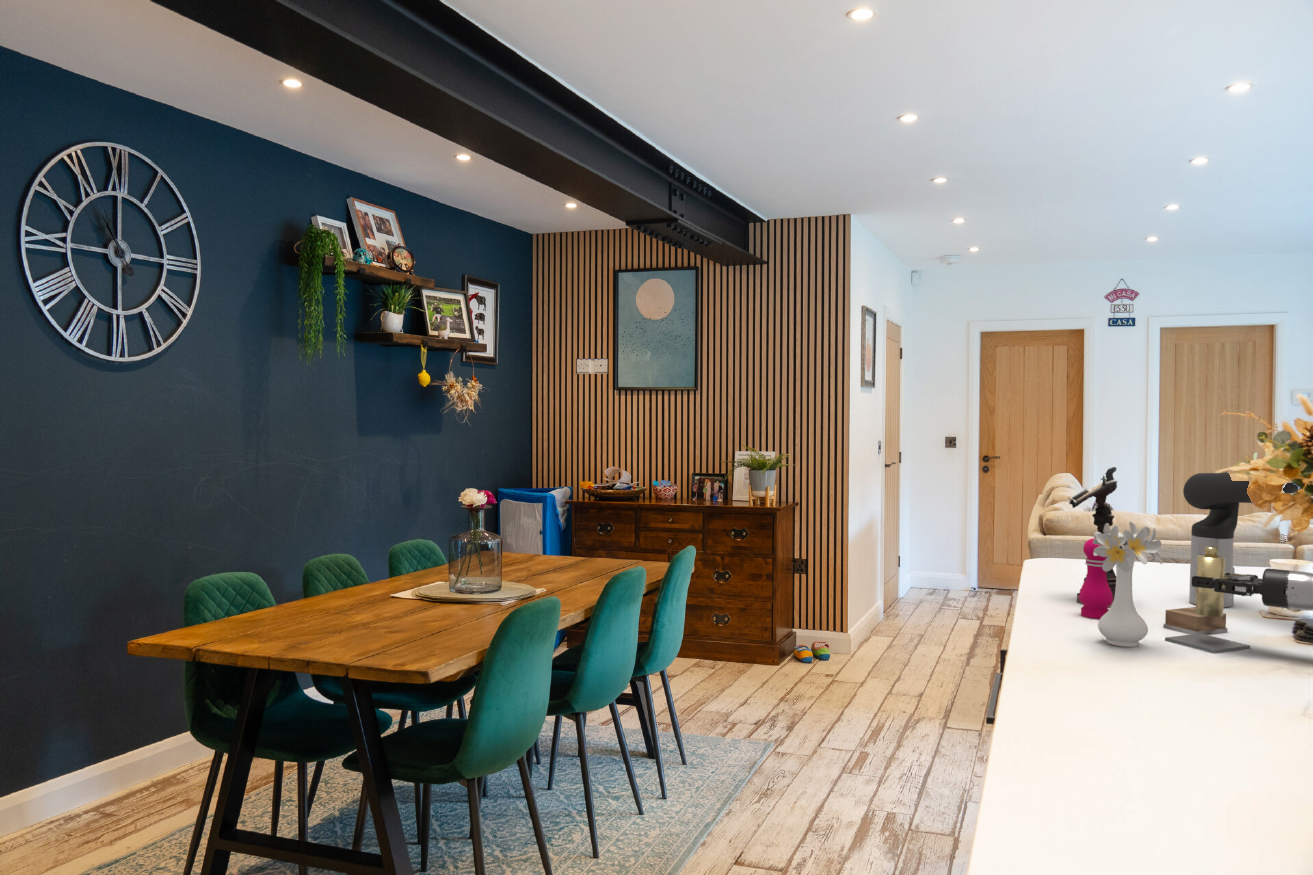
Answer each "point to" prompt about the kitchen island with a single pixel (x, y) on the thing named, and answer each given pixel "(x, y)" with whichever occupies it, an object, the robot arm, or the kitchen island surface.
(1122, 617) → the flower vase
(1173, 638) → the slate mat
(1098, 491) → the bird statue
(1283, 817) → the kitchen island surface
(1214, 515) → the robot arm
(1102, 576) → the pepper mill
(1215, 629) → the plane block
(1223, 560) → the gold knobbed bottle
